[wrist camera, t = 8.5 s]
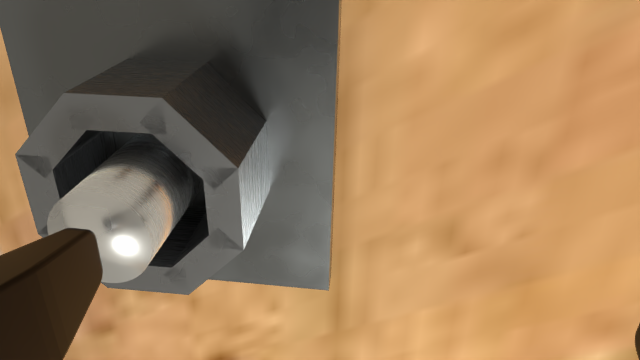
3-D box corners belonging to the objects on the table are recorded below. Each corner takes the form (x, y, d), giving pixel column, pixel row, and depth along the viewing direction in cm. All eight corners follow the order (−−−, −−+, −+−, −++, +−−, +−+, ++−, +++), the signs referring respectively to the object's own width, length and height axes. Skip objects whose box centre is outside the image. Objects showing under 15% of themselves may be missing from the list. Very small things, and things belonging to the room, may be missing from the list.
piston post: (341, -11, 17) (316, 28, 11) (330, 275, 23) (310, 410, 16) (7, -23, 18) (-189, 6, 12) (74, 252, 24) (-36, 371, 17)
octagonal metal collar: (264, 64, 17) (233, 101, 14) (270, 235, 21) (247, 299, 17) (72, 56, 18) (-4, 89, 15) (107, 222, 21) (52, 282, 18)
